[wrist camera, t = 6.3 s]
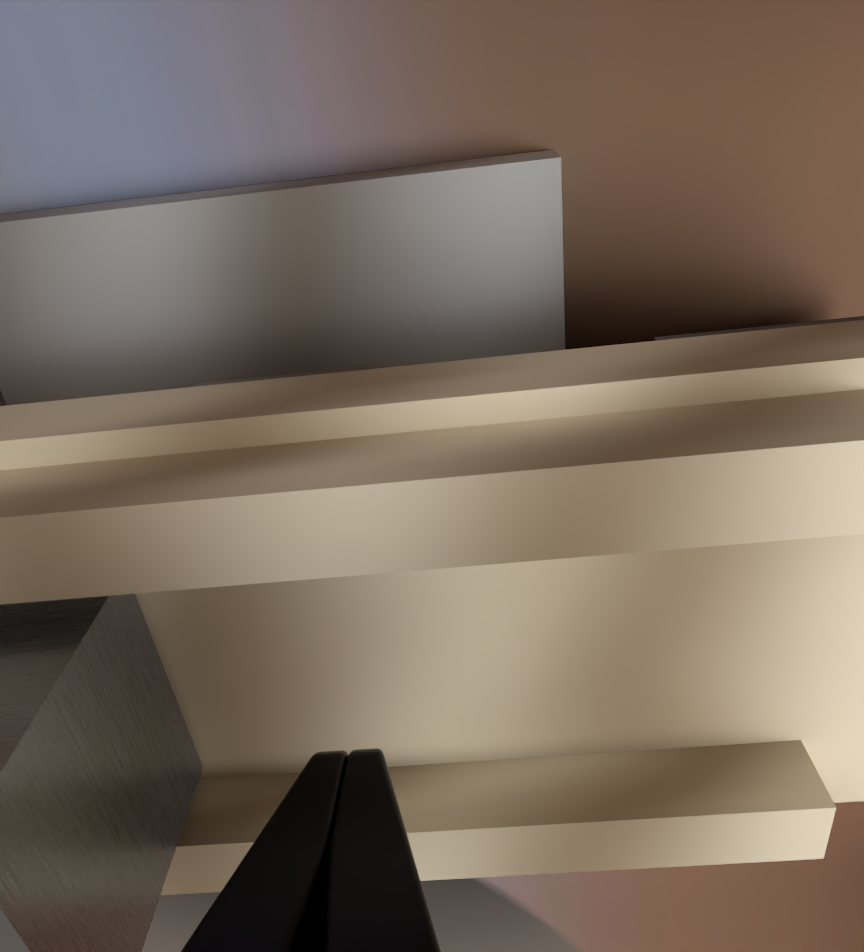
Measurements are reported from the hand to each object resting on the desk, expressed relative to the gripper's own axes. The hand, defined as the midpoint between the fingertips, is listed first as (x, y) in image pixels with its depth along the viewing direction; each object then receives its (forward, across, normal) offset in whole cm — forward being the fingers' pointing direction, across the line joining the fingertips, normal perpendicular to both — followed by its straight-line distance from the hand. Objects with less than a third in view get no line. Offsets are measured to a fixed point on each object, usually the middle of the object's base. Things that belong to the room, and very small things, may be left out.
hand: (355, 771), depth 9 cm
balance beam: (+7, +2, 0) cm, 7 cm away
